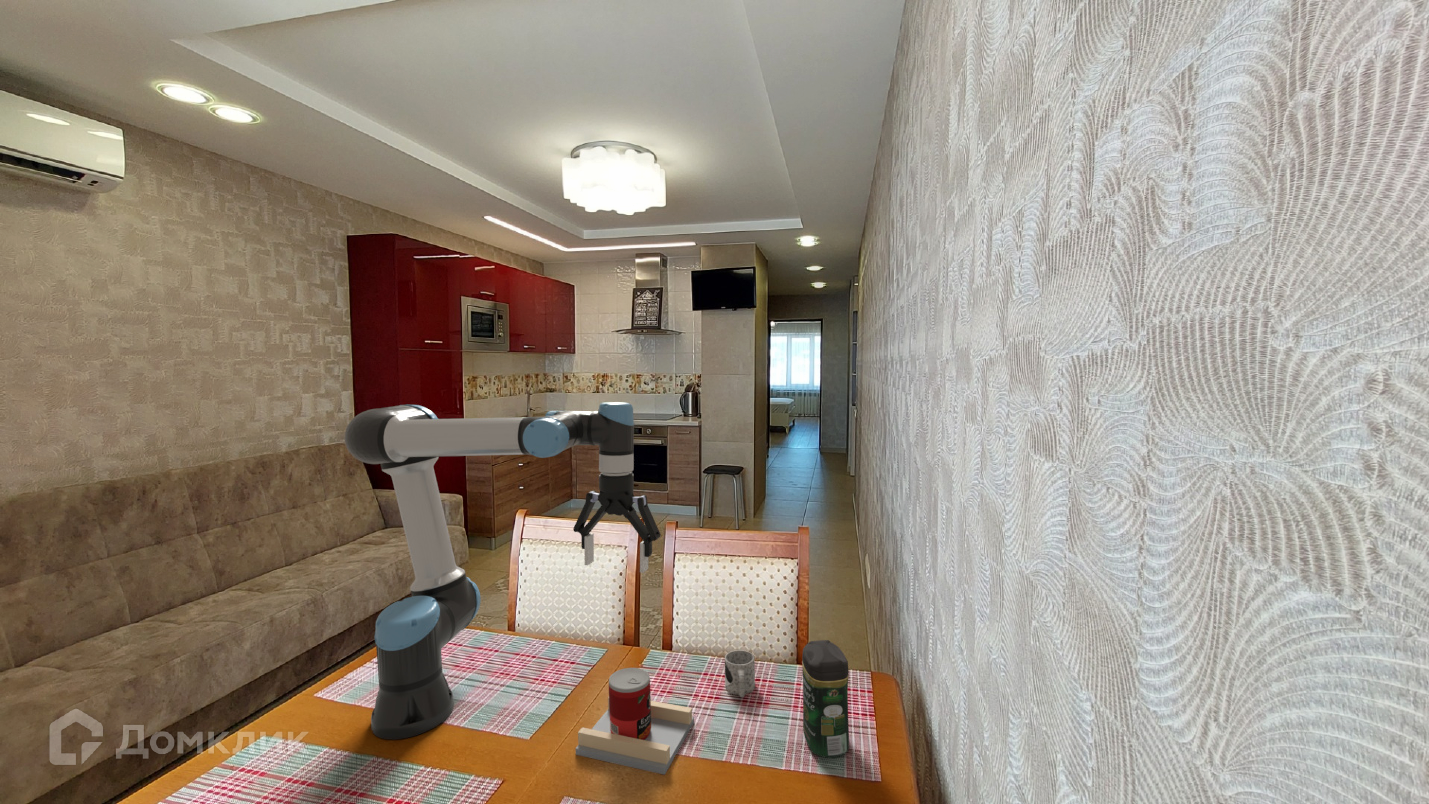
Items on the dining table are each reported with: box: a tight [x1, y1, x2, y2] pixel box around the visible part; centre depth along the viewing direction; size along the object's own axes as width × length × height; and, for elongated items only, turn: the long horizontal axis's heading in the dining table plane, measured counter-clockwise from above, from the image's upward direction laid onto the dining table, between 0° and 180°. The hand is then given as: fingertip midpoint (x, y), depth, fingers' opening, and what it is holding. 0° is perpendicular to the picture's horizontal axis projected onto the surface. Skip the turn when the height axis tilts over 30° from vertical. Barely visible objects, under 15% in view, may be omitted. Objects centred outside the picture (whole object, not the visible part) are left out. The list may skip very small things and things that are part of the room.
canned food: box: [608, 667, 652, 740], centre depth 109 cm, size 8×8×11 cm
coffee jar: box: [801, 639, 850, 758], centre depth 107 cm, size 10×8×19 cm
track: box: [575, 696, 695, 775], centre depth 110 cm, size 18×15×4 cm
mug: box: [724, 649, 756, 698], centre depth 125 cm, size 10×7×7 cm
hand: (616, 567), depth 126 cm, fingers open, 13 cm apart
